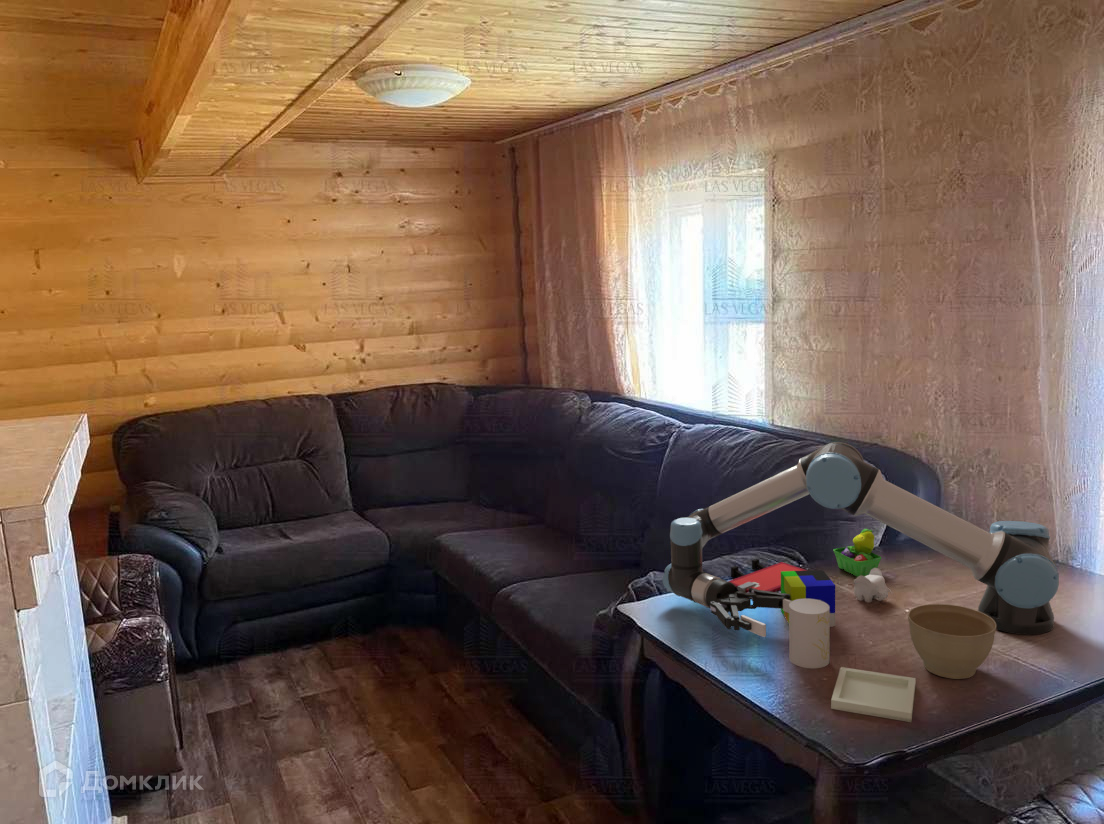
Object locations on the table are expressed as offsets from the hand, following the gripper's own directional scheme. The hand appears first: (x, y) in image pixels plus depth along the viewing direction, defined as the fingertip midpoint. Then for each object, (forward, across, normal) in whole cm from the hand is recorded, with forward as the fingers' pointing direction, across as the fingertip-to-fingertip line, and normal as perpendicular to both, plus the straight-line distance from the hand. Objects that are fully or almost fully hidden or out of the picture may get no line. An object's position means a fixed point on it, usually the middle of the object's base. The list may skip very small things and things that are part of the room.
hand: (786, 622), depth 184 cm
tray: (+24, +3, -7) cm, 25 cm away
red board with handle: (-32, -25, -7) cm, 41 cm away
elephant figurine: (-5, -37, -7) cm, 38 cm away
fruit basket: (-19, -51, -7) cm, 55 cm away
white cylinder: (+6, 0, -7) cm, 9 cm away
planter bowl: (+26, -18, -7) cm, 33 cm away
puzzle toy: (-8, -17, -7) cm, 20 cm away
